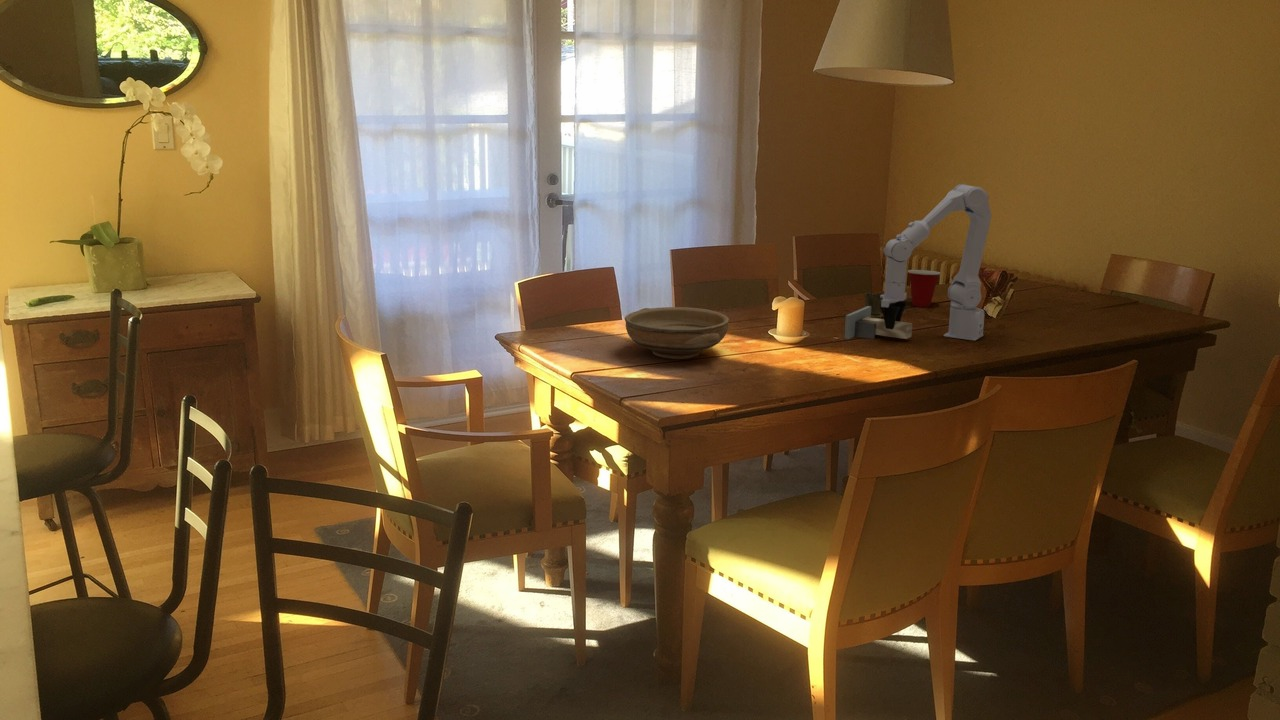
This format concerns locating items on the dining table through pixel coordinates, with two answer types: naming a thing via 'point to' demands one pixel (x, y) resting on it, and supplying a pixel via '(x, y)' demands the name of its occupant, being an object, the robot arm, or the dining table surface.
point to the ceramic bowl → (676, 330)
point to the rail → (898, 331)
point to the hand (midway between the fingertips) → (892, 327)
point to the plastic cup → (922, 286)
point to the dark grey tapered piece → (874, 304)
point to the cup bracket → (865, 329)
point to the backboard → (853, 318)
